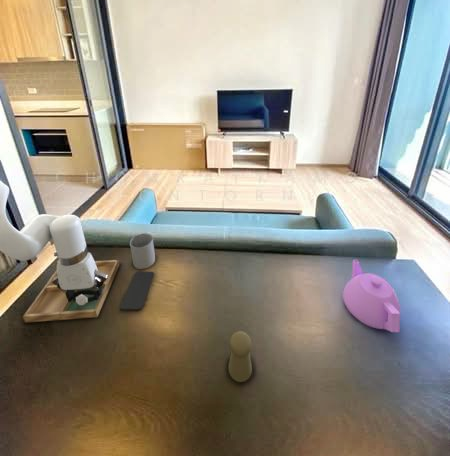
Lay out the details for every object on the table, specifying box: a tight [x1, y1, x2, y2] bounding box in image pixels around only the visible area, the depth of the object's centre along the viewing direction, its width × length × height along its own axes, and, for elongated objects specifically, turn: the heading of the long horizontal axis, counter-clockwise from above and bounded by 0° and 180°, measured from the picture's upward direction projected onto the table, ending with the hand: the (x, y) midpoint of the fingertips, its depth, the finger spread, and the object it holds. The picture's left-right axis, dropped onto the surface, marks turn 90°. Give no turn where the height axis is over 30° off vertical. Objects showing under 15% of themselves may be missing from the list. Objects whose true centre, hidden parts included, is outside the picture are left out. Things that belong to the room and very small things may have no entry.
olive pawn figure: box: [228, 330, 253, 383], centre depth 62 cm, size 6×6×11 cm
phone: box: [119, 270, 155, 312], centre depth 86 cm, size 7×1×15 cm
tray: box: [22, 259, 120, 323], centre depth 86 cm, size 21×21×2 cm
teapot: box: [342, 259, 402, 333], centre depth 77 cm, size 22×16×12 cm
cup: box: [129, 232, 156, 270], centre depth 97 cm, size 8×8×10 cm
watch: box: [72, 290, 95, 305], centre depth 81 cm, size 8×5×4 cm, turn 87°
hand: (85, 297), depth 81 cm, fingers closed on watch, 7 cm apart
